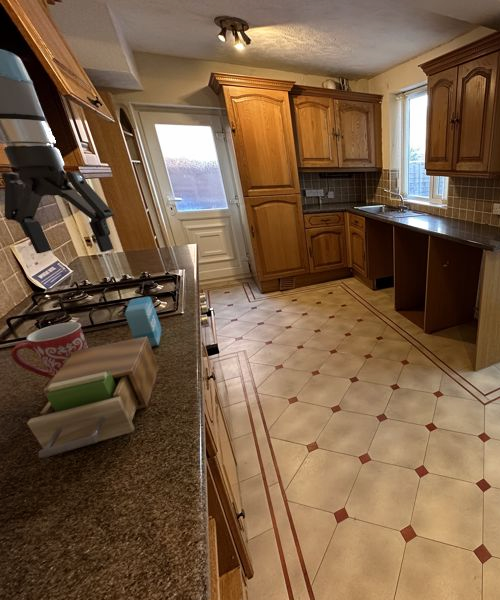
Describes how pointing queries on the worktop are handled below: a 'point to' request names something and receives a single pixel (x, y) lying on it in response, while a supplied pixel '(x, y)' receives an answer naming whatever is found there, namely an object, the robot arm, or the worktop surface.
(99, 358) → the cabinet
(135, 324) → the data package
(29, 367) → the mug
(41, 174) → the robot arm
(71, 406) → the green block
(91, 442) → the drawer
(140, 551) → the worktop surface
